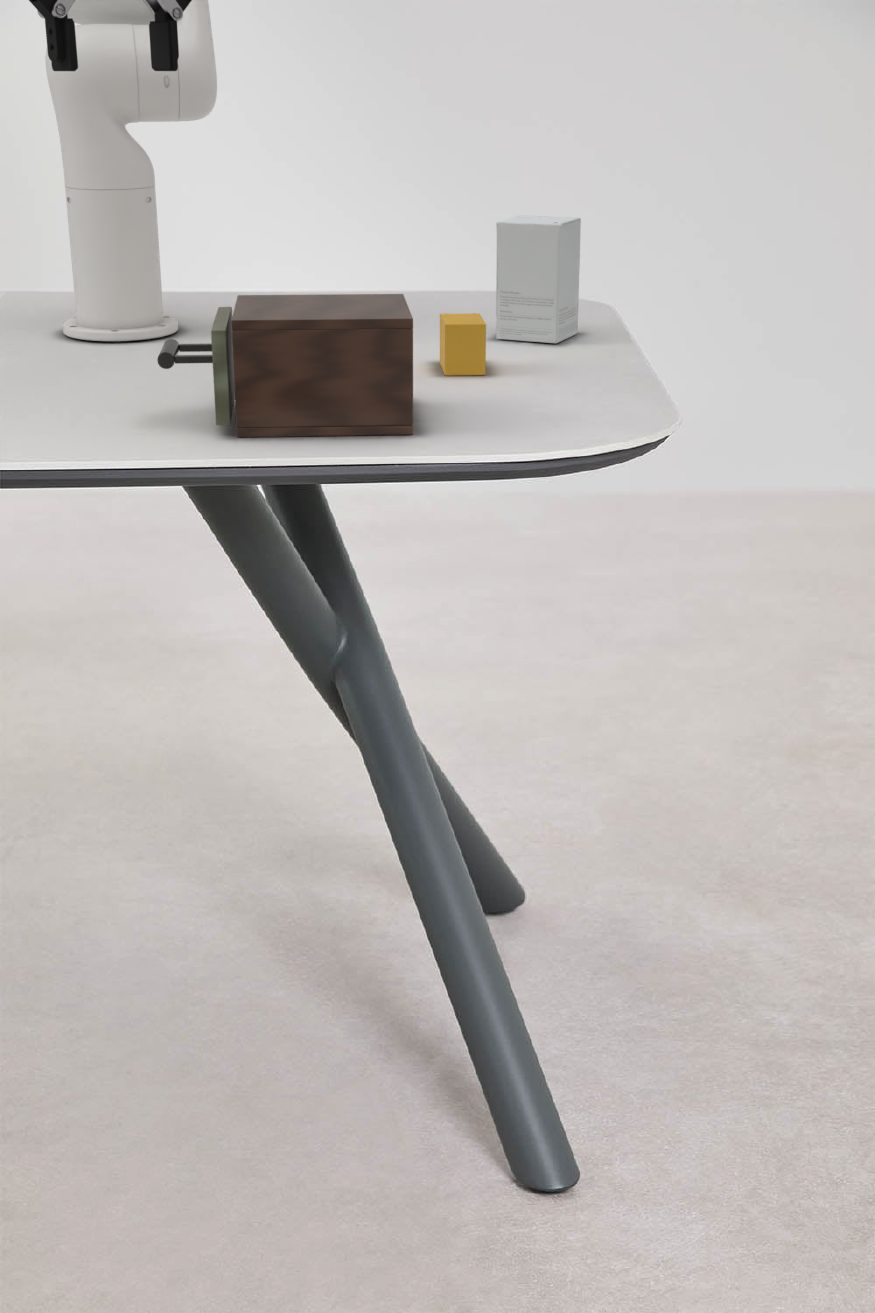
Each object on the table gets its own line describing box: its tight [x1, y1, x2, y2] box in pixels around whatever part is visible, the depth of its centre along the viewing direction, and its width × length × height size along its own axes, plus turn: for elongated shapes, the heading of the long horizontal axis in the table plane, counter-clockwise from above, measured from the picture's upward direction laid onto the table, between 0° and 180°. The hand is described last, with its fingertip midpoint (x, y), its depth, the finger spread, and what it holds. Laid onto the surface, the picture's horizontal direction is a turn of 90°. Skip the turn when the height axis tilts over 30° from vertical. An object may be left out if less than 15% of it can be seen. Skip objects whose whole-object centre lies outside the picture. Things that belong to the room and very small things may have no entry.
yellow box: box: [439, 312, 487, 377], centre depth 149 cm, size 6×4×5 cm, turn 5°
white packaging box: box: [495, 214, 582, 344], centre depth 163 cm, size 7×7×13 cm
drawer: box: [157, 306, 235, 426], centre depth 128 cm, size 18×11×8 cm, turn 95°
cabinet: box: [231, 293, 414, 438], centre depth 128 cm, size 15×13×10 cm
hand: (116, 70), depth 127 cm, fingers open, 9 cm apart
